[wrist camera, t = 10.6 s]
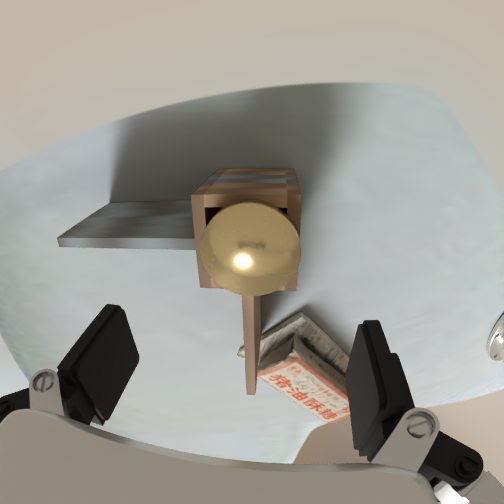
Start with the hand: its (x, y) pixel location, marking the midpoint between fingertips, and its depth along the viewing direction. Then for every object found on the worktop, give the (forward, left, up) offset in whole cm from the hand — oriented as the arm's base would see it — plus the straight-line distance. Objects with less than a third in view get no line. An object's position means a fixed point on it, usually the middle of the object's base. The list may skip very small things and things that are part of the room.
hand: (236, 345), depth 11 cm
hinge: (+7, +6, -18) cm, 20 cm away
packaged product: (-7, +21, -18) cm, 29 cm away
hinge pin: (0, 0, -17) cm, 17 cm away
